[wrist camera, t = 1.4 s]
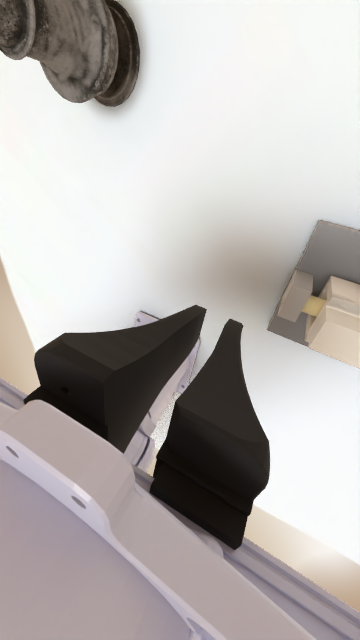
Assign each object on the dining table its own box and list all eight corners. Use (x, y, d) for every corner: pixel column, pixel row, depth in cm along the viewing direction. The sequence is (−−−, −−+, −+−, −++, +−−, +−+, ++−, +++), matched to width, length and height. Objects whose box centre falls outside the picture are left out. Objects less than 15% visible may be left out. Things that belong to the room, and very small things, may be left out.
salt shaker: (158, 68, 16) (-48, -52, 7) (106, 130, 20) (-77, 101, 11) (110, -41, 15) (-229, -369, 6) (63, 47, 18) (-193, -69, 9)
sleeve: (364, 337, 17) (377, 387, 13) (306, 316, 18) (302, 356, 15) (398, 296, 15) (423, 341, 11) (330, 275, 16) (333, 309, 12)
